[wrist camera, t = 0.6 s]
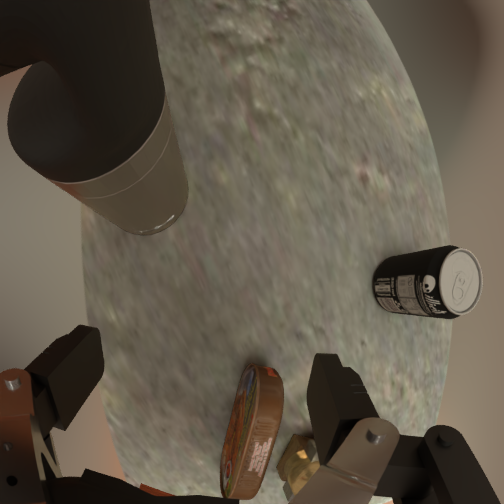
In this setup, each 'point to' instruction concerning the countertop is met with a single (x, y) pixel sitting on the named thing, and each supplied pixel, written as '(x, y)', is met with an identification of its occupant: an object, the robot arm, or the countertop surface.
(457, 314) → the beverage can
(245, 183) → the countertop surface
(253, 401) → the tin
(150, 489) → the valve lever
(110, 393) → the countertop surface
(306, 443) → the valve base
